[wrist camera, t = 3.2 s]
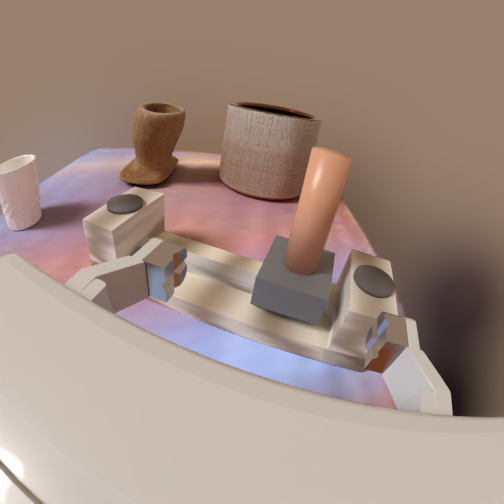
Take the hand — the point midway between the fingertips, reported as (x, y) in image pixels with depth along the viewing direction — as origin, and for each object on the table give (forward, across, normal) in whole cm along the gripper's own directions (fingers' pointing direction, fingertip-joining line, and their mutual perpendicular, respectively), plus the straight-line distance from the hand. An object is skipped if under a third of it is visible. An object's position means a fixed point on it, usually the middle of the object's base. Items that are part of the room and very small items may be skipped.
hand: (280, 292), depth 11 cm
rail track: (+12, -5, -13) cm, 19 cm away
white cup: (+10, -41, -14) cm, 45 cm away
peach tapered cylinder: (+12, +1, -11) cm, 16 cm away
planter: (+44, -11, -14) cm, 47 cm away
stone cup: (+36, -31, -14) cm, 49 cm away
